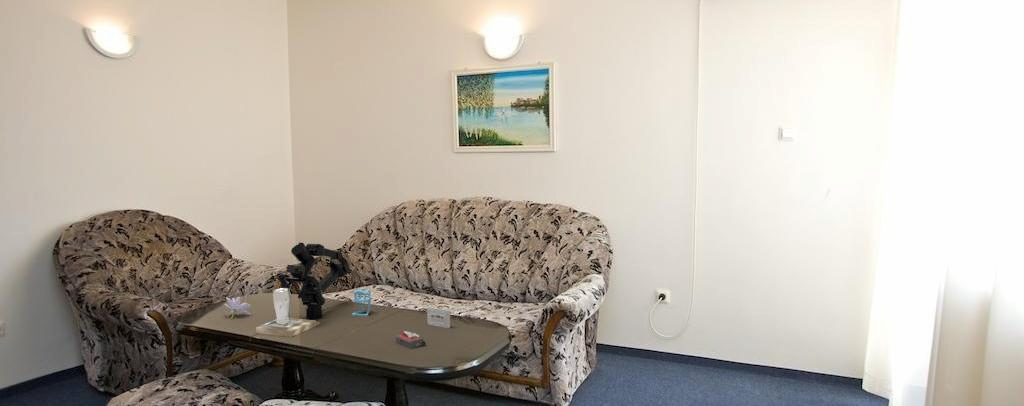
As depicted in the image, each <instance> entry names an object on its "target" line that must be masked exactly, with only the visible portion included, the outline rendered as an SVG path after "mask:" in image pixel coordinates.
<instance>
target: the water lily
mask: <svg viewBox="0 0 1024 406" xmlns="http://www.w3.org/2000/svg"><path fill="white" fill-rule="evenodd" d="M225 298H226V302H227V303H223V305H224V306H225V307H226V308H229V310H230V309H231V310H230V311H229V313H230V316H231V317H230V320H233V319H234V316H235V314H236V313H239V314H242V315H246V316H251V315H252V314H251V313H250V312H248V310H246V309H249V308H250V307H252V304H249V303H248V302H243V303H241V297H240V296H238V297H236V298H234V297H232V299H230V298H229V297H227V296H226V297H225Z"/></svg>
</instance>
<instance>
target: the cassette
mask: <svg viewBox="0 0 1024 406" xmlns="http://www.w3.org/2000/svg"><path fill="white" fill-rule="evenodd" d="M426 314H427V315H426V316H427V317H426V318H427V320H426V321H427V323H426V324H427V325H429V326H434V327H440V328H444V329H445V328H447V329H450V328H451V310H450V309H443V308H438V307H436V308H435V307H431V306H428V307H426ZM438 316H439V317H438Z"/></svg>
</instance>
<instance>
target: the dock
mask: <svg viewBox="0 0 1024 406" xmlns="http://www.w3.org/2000/svg"><path fill="white" fill-rule="evenodd" d="M290 322H291V323H290V324H289V325H285V326H277V325H276V319H274V320H271V321H269V322H266V323H264V324H261V325H259V326H257V327H255V331H256V332H255V333H256V334H259V335H269V336H276V337H277V336H279V337H289V338H292V337H294V336H297V335H300V334H301V333H303V332H306V331H307V330H311V329H313V328H315V327H317V326H319V325H320V321H316V319H312V320H308V319H305V318H304V319H303V318H295V317H293V318H292V317H290Z"/></svg>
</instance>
